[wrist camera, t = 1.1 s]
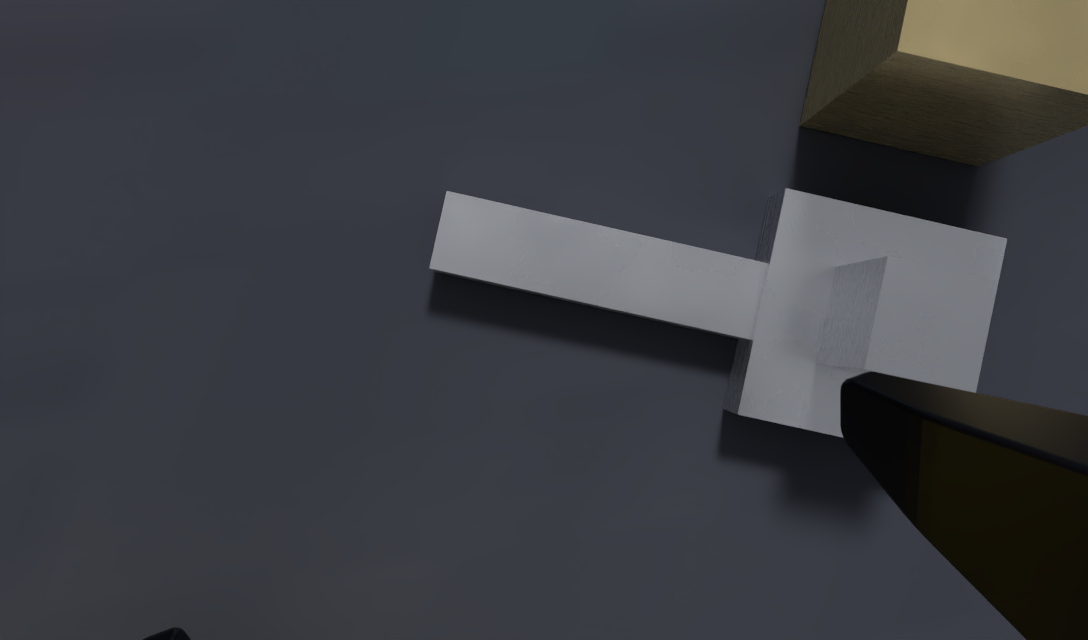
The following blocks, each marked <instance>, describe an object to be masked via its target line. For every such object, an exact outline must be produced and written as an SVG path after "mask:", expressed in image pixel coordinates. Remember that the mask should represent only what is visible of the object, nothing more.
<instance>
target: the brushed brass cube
mask: <svg viewBox="0 0 1088 640" xmlns="http://www.w3.org/2000/svg"><path fill="white" fill-rule="evenodd" d="M800 126H802V127H806V128H811V129H815V130H820V131H824V132H828V133H833V134H837V135H842V136H846V137H850V138H855V139H859V140H864V141H868V142H872V143H877V144H881V145H886V146H890V147H894V148H899V149H903V150H908V151H912V152H916V153H921V154H925V155H930V156H934V157H938V158H943V159H947V160H952V161H956V162H960V163H965V164H969V165H974V166H981V165H983V164H986V163H989V162H991V161H994V160H997V159H1000V158H1002V157H1005V156H1008V155H1010V154H1013V153H1016V152H1018V151H1021V150H1024V149H1026V148H1029V147H1032V146H1034V145H1037V144H1040V143H1042V142H1045V141H1048V140H1050V139H1053V138H1056V137H1058V136H1061V135H1064V134H1066V133H1069V132H1072V131H1074V130H1077V129H1080V128H1082V127H1085V126H1088V0H826V4H825V9H824V14H823V19H822V23H821V28H820V33H819V37H818V42H817V47H816V52H815V56H814V61H813V66H812V70H811V75H810V80H809V84H808V89H807V94H806V99H805V103H804V108H803V113H802V117H801V122H800Z"/></svg>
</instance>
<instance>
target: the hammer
mask: <svg viewBox="0 0 1088 640" xmlns="http://www.w3.org/2000/svg"><path fill="white" fill-rule="evenodd" d="M1006 242H1007V239H1006V238H1002V237H997V236H993V235H989V234H984V233H980V232H976V231H971V230H967V229H962V228H958V227H954V226H949V225H945V224H941V223H936V222H932V221H927V220H923V219H919V218H914V217H910V216H906V215H901V214H897V213H893V212H888V211H884V210H879V209H875V208H871V207H866V206H862V205H858V204H853V203H849V202H844V201H840V200H836V199H831V198H827V197H823V196H818V195H814V194H809V193H805V192H801V191H796V190H792V189H788V188H785V189H783V190H781V191H780V192H778V193H776V194H774V195H772V196H770V197H769V198H768V202H767V206H766V211H765V216H764V220H763V225H762V230H761V234H760V239H759V244H758V248H757V253H756V258H755V260H751V259H746V258H742V257H737V256H733V255H729V254H724V253H720V252H715V251H711V250H706V249H702V248H698V247H693V246H689V245H684V244H680V243H675V242H671V241H666V240H662V239H658V238H653V237H649V236H644V235H640V234H635V233H631V232H627V231H622V230H618V229H613V228H609V227H604V226H600V225H596V224H591V223H587V222H582V221H578V220H573V219H569V218H565V217H560V216H556V215H551V214H547V213H542V212H538V211H533V210H529V209H525V208H520V207H516V206H511V205H507V204H502V203H498V202H494V201H489V200H485V199H480V198H476V197H471V196H467V195H463V194H458V193H454V192H449V191H447V192H446V197H445V201H444V205H443V210H442V214H441V219H440V223H439V228H438V232H437V237H436V241H435V245H434V250H433V254H432V259H431V263H430V269H431V270H433V271H434V272H438V273H442V274H447V275H451V276H456V277H460V278H465V279H469V280H474V281H478V282H483V283H487V284H492V285H496V286H501V287H505V288H510V289H514V290H519V291H523V292H528V293H532V294H537V295H541V296H546V297H550V298H555V299H559V300H564V301H568V302H573V303H577V304H582V305H586V306H591V307H595V308H600V309H604V310H609V311H613V312H618V313H622V314H627V315H631V316H636V317H640V318H645V319H649V320H654V321H658V322H663V323H667V324H672V325H676V326H681V327H685V328H690V329H694V330H699V331H703V332H708V333H712V334H717V335H721V336H726V337H730V338H735V339H738V342H737V347H736V351H735V356H734V361H733V366H732V370H731V375H730V380H729V384H728V389H727V394H726V398H725V403H724V408H723V409H724V410H727V411H730V412H732V413H735V414H738V415H742V416H747V417H751V418H756V419H760V420H765V421H770V422H774V423H779V424H783V425H788V426H792V427H797V428H802V429H806V430H811V431H815V432H820V433H824V434H829V435H833V436H838V437H843V435H842V432H841V427H840V389H841V385H842V383H843V382H844V381H845V380H846V379H848V378H851V377H853V376H856V375H859V374H862V373H864V372H870V371H872V372H878V373H882V374H887V375H892V376H897V377H902V378H907V379H911V380H916V381H921V382H926V383H931V384H935V385H940V386H945V387H950V388H955V389H960V390H964V391H969V392H974V393H976V389H977V384H978V379H979V374H980V370H981V365H982V360H983V355H984V350H985V345H986V340H987V335H988V330H989V326H990V321H991V316H992V311H993V306H994V301H995V296H996V291H997V286H998V282H999V277H1000V272H1001V267H1002V262H1003V257H1004V252H1005V247H1006Z"/></svg>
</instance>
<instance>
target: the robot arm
mask: <svg viewBox="0 0 1088 640" xmlns="http://www.w3.org/2000/svg"><path fill="white" fill-rule="evenodd" d="M840 427H841V432H842V435H843V438H844V440H845V441H846V443H847V445H848V446H849V447H850V448H851V450H852V451H853V452H854V453H855V455H856V456H857V457H858V458H859V459H860V461H861V462H862V463H863V464H864V466H865V467H866V468H867V469H868V470H869V472H870V473H871V474H872V475H873V477H874V478H875V479H876V480H877V481H878V483H879V484H880V485H881V486H882V488H883V489H884V490H885V491H886V493H887V494H888V495H889V496H890V497H891V499H892V500H893V501H894V502H895V504H896V505H897V506H898V507H899V508H900V510H901V511H902V512H903V513H904V515H905V516H906V517H907V518H908V519H909V520H910V521H911V523H912V524H913V525H914V526H915V527H916V528H917V529H918V530H919V531H920V532H921V534H922V535H923V536H924V537H925V538H926V539H927V540H928V541H929V542H930V543H931V544H932V545H933V546H934V547H935V548H936V549H937V550H938V551H939V552H940V553H941V554H942V555H943V556H944V557H945V558H946V559H947V560H948V561H949V562H950V563H951V564H952V565H953V566H954V567H955V568H956V569H957V570H958V571H959V572H960V573H961V574H962V575H963V576H964V577H965V578H966V579H967V580H968V581H969V582H970V583H971V584H972V585H973V586H974V587H975V588H976V589H977V590H978V591H979V592H980V593H981V594H982V595H983V596H984V597H985V598H986V599H987V600H988V601H989V602H990V603H991V604H992V605H993V606H994V607H995V608H996V609H997V610H998V611H999V612H1000V613H1001V614H1002V615H1003V616H1004V617H1005V618H1006V619H1007V620H1008V621H1009V622H1010V623H1011V624H1012V625H1013V626H1014V627H1015V628H1016V629H1017V630H1018V631H1019V633H1020V634H1021V635H1022V636H1023V637H1024V638H1025V639H1026V640H1088V416H1085V415H1080V414H1076V413H1071V412H1066V411H1061V410H1056V409H1051V408H1047V407H1042V406H1037V405H1032V404H1027V403H1022V402H1018V401H1013V400H1008V399H1003V398H998V397H993V396H989V395H984V394H979V393H974V392H969V391H964V390H960V389H955V388H950V387H945V386H940V385H935V384H931V383H926V382H921V381H916V380H911V379H907V378H902V377H897V376H892V375H887V374H882V373H878V372H872V371H870V372H864V373H862V374H859V375H856V376H853V377H851V378H848V379H846V380H845V381H844V382H843V383H842V385H841V389H840ZM143 640H190V638H189V636H188V635H187V634H186V632H185V631H184V630H182V629H181V628H171V629H168V630H165V631H163V632H160V633H157V634H154V635H152V636H149V637H147V638H145V639H143Z"/></svg>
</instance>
